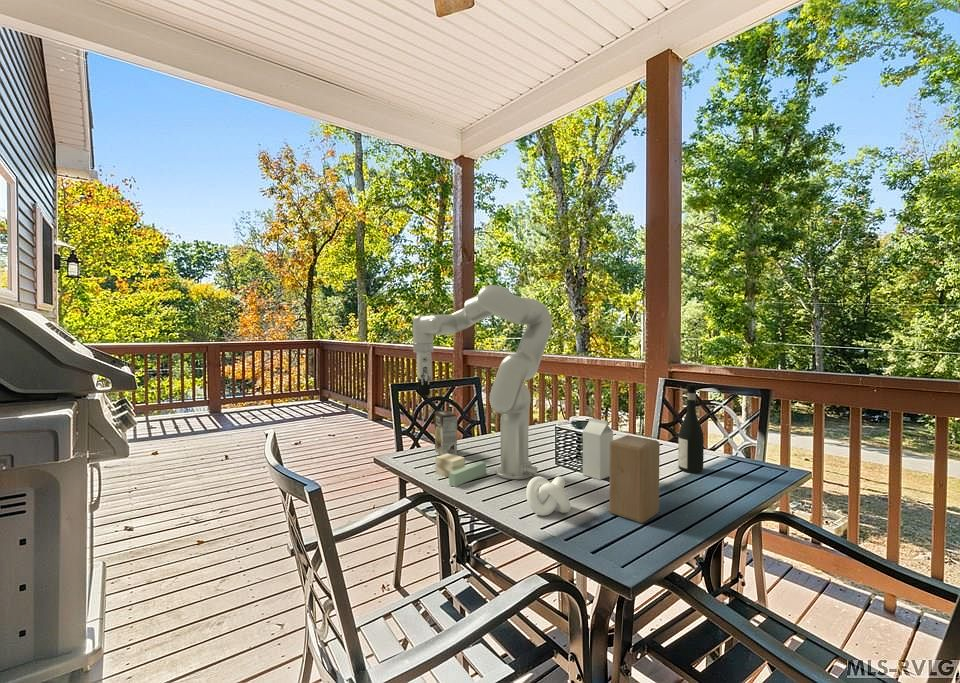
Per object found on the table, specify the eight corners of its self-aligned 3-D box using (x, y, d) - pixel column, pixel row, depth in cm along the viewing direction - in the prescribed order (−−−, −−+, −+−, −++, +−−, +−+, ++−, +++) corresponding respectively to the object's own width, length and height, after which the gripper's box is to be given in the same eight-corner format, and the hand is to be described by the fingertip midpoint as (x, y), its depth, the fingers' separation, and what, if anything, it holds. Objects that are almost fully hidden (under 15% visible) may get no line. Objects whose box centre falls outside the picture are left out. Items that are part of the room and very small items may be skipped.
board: (486, 473, 157) (486, 462, 157) (454, 486, 145) (454, 474, 145) (480, 472, 159) (480, 460, 158) (449, 485, 146) (449, 472, 146)
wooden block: (607, 513, 124) (608, 440, 123) (625, 503, 131) (626, 433, 130) (643, 525, 117) (643, 447, 116) (660, 513, 124) (661, 440, 123)
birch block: (464, 474, 157) (464, 457, 156) (452, 479, 152) (452, 461, 152) (447, 470, 162) (447, 453, 161) (435, 474, 157) (435, 457, 157)
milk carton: (600, 480, 150) (600, 422, 149) (582, 475, 155) (582, 419, 155) (613, 475, 154) (613, 419, 154) (595, 470, 160) (595, 416, 159)
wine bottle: (680, 472, 157) (681, 385, 156) (676, 465, 165) (677, 382, 163) (705, 474, 155) (707, 386, 154) (700, 467, 163) (701, 383, 162)
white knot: (533, 499, 134) (533, 469, 134) (575, 505, 130) (575, 474, 129) (523, 515, 123) (523, 482, 123) (567, 521, 119) (567, 487, 119)
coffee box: (434, 451, 186) (434, 411, 185) (449, 449, 188) (448, 410, 188) (442, 456, 177) (441, 415, 177) (457, 454, 180) (457, 414, 179)
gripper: (436, 349, 165) (436, 396, 166) (430, 347, 182) (431, 389, 183) (415, 349, 163) (416, 397, 164) (411, 347, 180) (412, 390, 181)
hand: (424, 393), depth 173 cm, fingers open, 9 cm apart
